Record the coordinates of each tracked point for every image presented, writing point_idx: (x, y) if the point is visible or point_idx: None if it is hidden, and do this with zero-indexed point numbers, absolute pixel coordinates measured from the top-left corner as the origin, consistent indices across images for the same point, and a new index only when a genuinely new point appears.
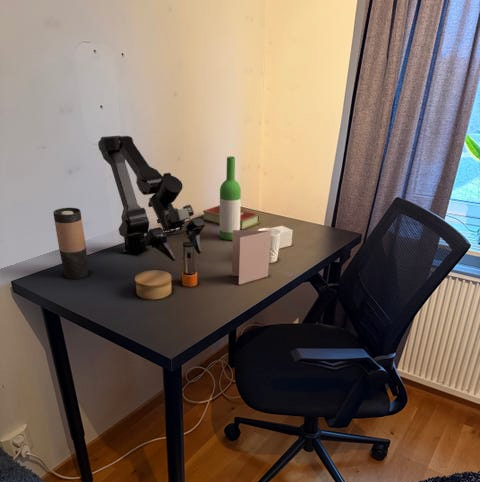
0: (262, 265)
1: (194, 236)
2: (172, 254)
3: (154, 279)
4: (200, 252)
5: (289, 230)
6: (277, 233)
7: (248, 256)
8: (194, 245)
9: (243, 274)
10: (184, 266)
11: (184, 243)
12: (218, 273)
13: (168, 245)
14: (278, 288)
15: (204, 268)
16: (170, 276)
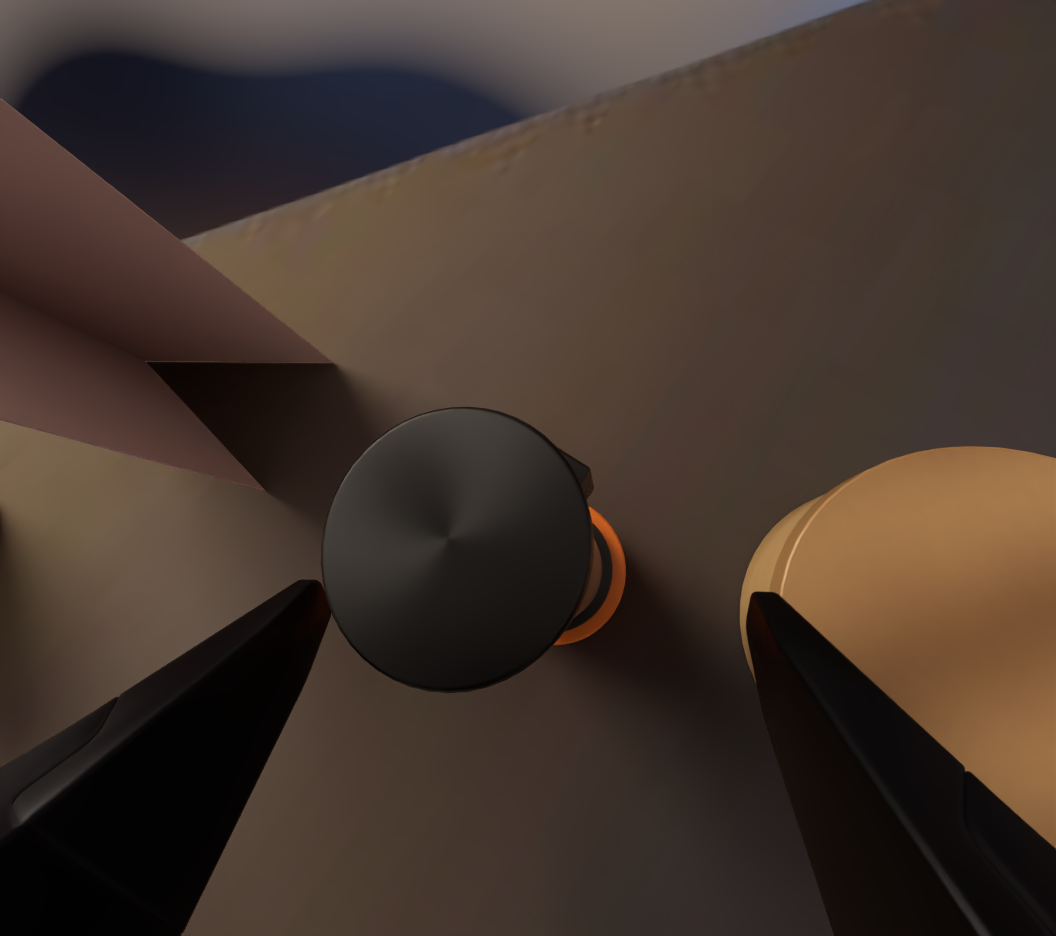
0: (93, 314)
1: (27, 873)
2: (807, 650)
3: (1021, 590)
4: (310, 581)
5: None
6: None
7: (87, 237)
8: (237, 760)
9: (258, 328)
10: (600, 570)
11: (519, 608)
12: (297, 579)
13: (954, 878)
14: (230, 224)
15: (301, 732)
16: (805, 547)
